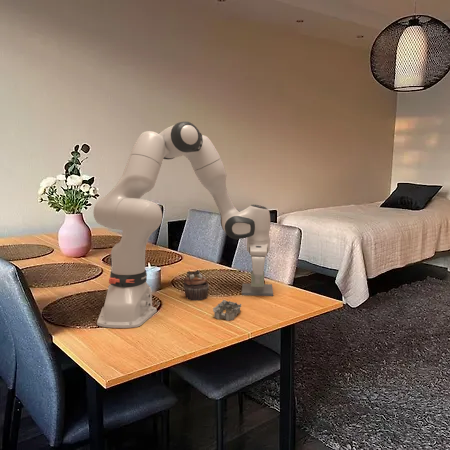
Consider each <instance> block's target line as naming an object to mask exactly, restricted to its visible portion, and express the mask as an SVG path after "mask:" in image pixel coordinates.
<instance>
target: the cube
mask: <svg viewBox="0 0 450 450" xmlns="http://www.w3.org/2000/svg"><path fill="white" fill-rule="evenodd" d="M250 271H251V272H250V273H251V274H250V275H251V277H250V279H251V280H250V284H251V286H254V287H264V284H265V271H263V275H262V276H260V283H259V284H256V283H255V276H254V275H253V270H250Z"/></svg>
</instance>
